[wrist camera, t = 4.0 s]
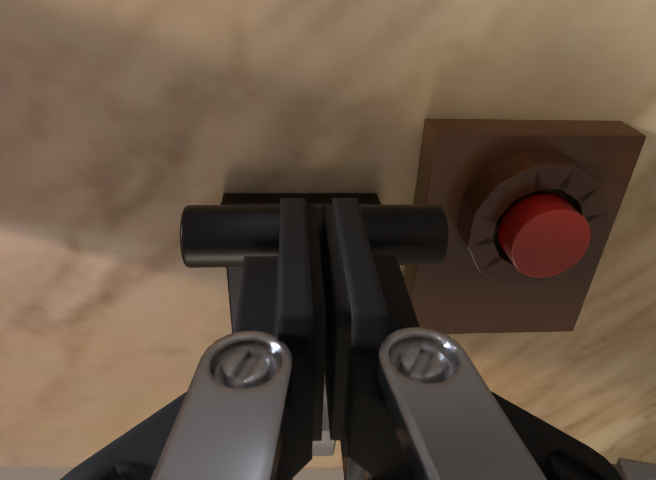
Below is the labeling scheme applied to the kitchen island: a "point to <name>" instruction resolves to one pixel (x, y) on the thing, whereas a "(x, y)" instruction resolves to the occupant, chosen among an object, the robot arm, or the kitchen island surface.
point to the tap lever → (263, 240)
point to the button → (543, 235)
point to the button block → (493, 202)
